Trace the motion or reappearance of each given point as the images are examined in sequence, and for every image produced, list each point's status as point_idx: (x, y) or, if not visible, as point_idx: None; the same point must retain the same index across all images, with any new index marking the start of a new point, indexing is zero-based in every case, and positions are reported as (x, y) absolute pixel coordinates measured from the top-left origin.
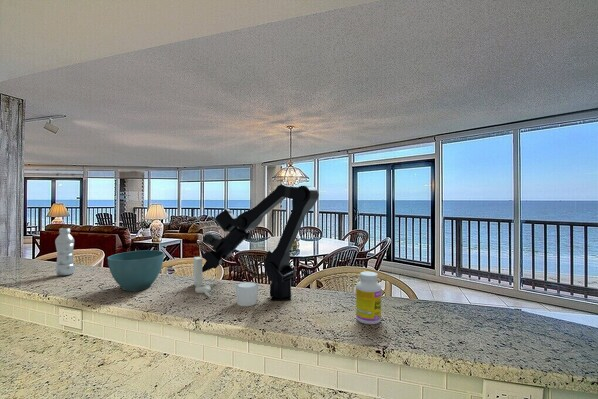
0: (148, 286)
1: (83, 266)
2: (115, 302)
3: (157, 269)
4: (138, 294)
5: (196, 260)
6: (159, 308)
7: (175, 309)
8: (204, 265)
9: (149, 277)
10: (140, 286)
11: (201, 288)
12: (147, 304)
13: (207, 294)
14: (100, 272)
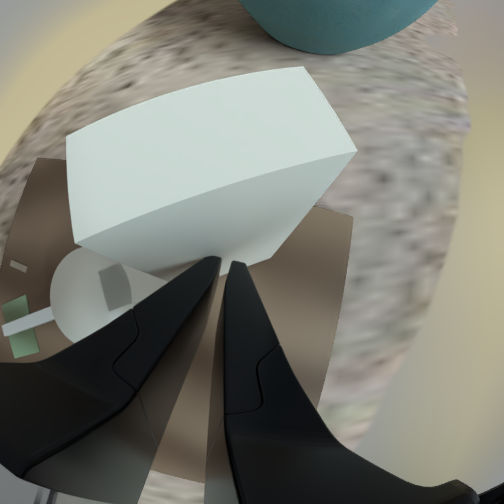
0: (293, 45)
1: (449, 12)
2: (158, 21)
3: (299, 1)
4: (220, 39)
5: (79, 145)
6: (34, 143)
7: (4, 200)
8: (154, 300)
9: (263, 11)
10: (258, 23)
11: (67, 287)
12: (89, 92)
13: (15, 322)
14: (428, 13)
